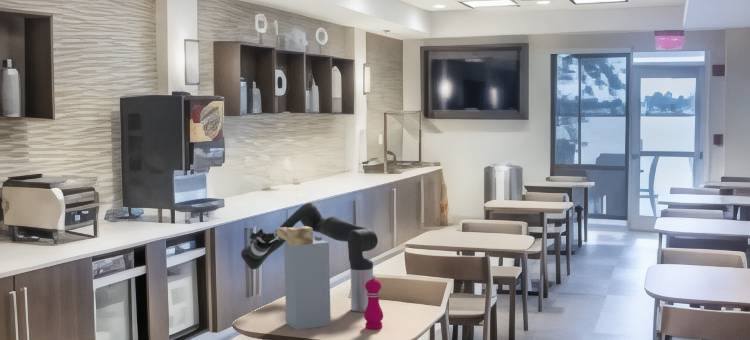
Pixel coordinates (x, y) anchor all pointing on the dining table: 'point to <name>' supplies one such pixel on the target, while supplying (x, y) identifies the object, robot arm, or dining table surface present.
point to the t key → (296, 235)
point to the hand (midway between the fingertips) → (271, 230)
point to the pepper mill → (373, 305)
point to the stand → (307, 284)
